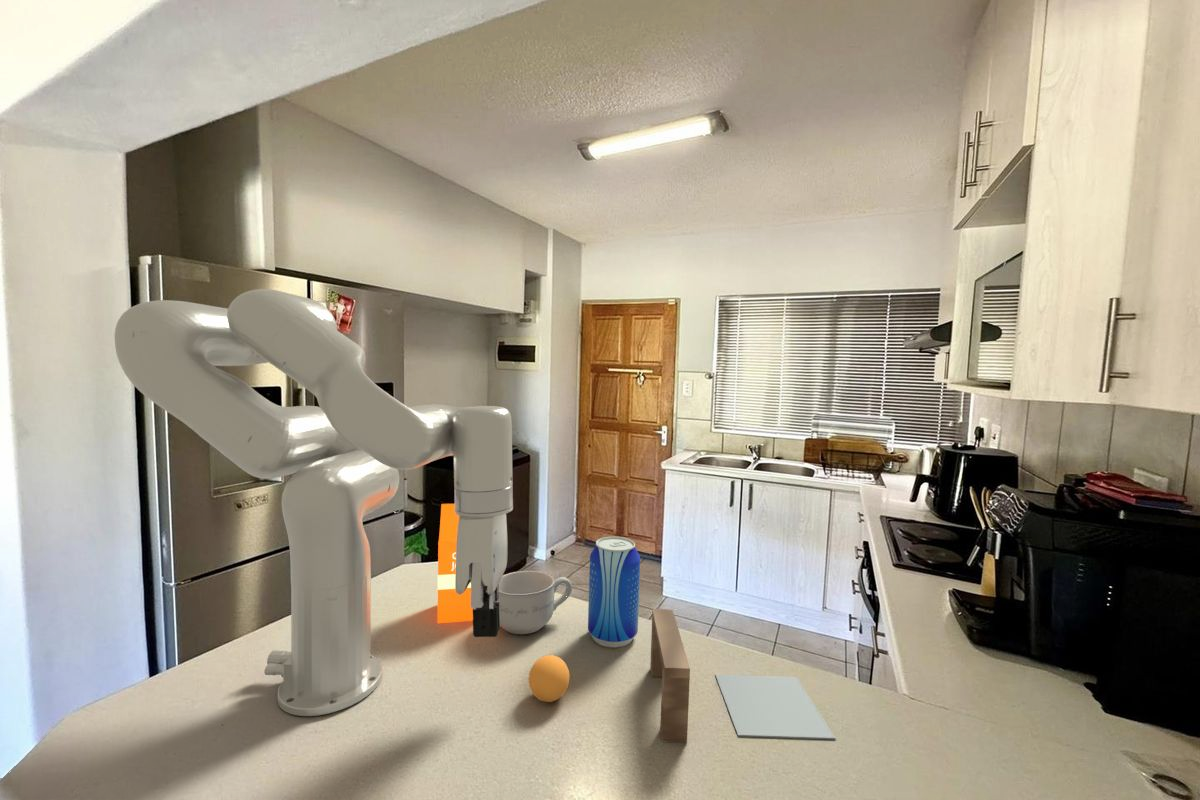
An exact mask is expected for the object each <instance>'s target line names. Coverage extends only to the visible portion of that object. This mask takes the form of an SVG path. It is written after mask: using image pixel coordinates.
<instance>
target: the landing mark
mask: <svg viewBox="0 0 1200 800" xmlns="http://www.w3.org/2000/svg"><path fill="white" fill-rule="evenodd" d="M715 678H716V681H717V684H718V686H719V689H720V693H721V694H722V697H723V700H724V702H725V705H726V708H727V710H728V714H729V717H730V718H731V721H732V723H733V727H734V729H735V731H736V735H737V737H741V738H742V737H746V738H748V737H750V738H753V737H754V738H773V739H774V738H777V739H779V738H781V739H809V740H810V739H811V740H837V739H836V736H835V735H834V733H833V732H832V730H831V729H830V727H829V726H828V724H827V722H826V721H825V719H824V718H823V716H822V714H821V713H820V712H819V710H818V709H817V707H816V705H815V704H814V702H813V701H812V699H811V697H810V695H809V693H807V691H806V690H805V688H804V686H803V684H801V681H800V680H799V678H798V677H797V676H782V675H781V676H778V675H772V676H771V675H746V674H744V675H743V674H741V675H740V674H715Z"/></svg>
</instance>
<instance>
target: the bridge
mask: <svg viewBox="0 0 1200 800" xmlns="http://www.w3.org/2000/svg"><path fill="white" fill-rule="evenodd" d="M651 614H652V615H651V636H650V637H651V638H650V640H651V641H650V674H651V675H650V676H651V678H661V695H660V696H661V697H660V698H661V701H660V703H661V704H660V725H659V728H660V729H659V730H660V735H661V737H662V738H661V742H662V741H667V742H666V743H672V742H671V741H674V742H673V743H688V730H689V729H688V726H689V704H690V699H689V698H690V682H691V678H690V676H691V668H690V664H689V660H688V657H687V654H686V651H685V647H684V643H683V640H682V635H681V634H680V631H679V627H678V623H677V620H676V617H675V614H674V610H673V609H668V608H667V609H663V608H653V609H652V611H651Z"/></svg>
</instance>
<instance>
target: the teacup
mask: <svg viewBox="0 0 1200 800" xmlns="http://www.w3.org/2000/svg"><path fill="white" fill-rule="evenodd" d="M561 584H564V585H565V590H564V592H563V593H562V595H561V596H559V597H558V598H557V599H555V593H556V591H557V588H558V587H559V585H561ZM572 591H573V585H572V582H571V581H570V579H568V578H567V577H565V576H560V577H559V576H558V578H556V579H554V577H553V576H552V575H550V574H549V573H546V572H543V571H537V570H520V571H513V572H509V573H506V574H505V573H504V574H503V576H502V578H501V580H500V582H499V599H498V601H495V602H499V619H500V627H501V628H502V629H504V630H505V631H507V632H508V633H511V634H515V635H528V634H533V633H535V632H538V631H539V630H542V628H543V627H544V626H545V625H546V624H548V622H549V621H550V620H551V618H552V616H553V614H554V612H555V611H556V610H557V608H558V607H559V606H560V605H561V604H563V603H564V602H566V601H567V600H568V599H569V598H570V596H571V594H572ZM566 596H567V597H566Z"/></svg>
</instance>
